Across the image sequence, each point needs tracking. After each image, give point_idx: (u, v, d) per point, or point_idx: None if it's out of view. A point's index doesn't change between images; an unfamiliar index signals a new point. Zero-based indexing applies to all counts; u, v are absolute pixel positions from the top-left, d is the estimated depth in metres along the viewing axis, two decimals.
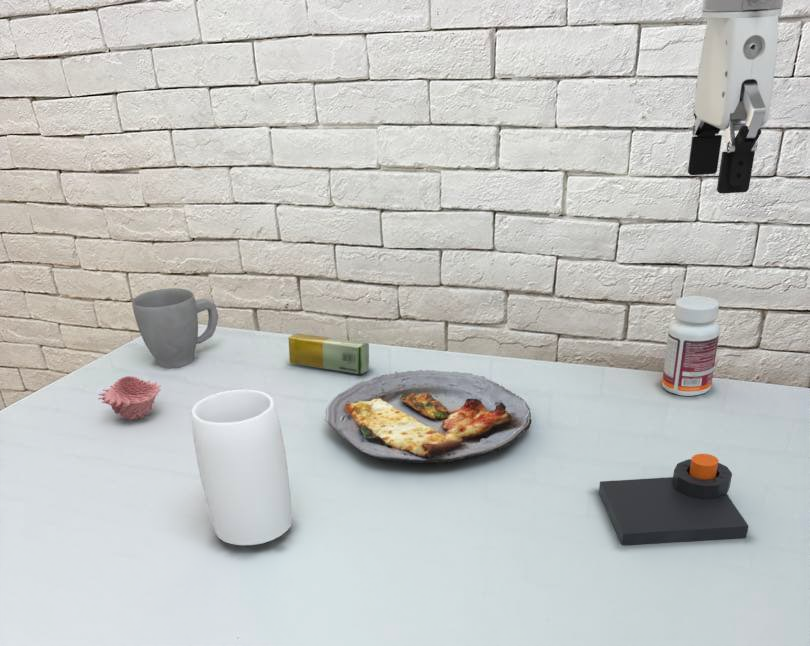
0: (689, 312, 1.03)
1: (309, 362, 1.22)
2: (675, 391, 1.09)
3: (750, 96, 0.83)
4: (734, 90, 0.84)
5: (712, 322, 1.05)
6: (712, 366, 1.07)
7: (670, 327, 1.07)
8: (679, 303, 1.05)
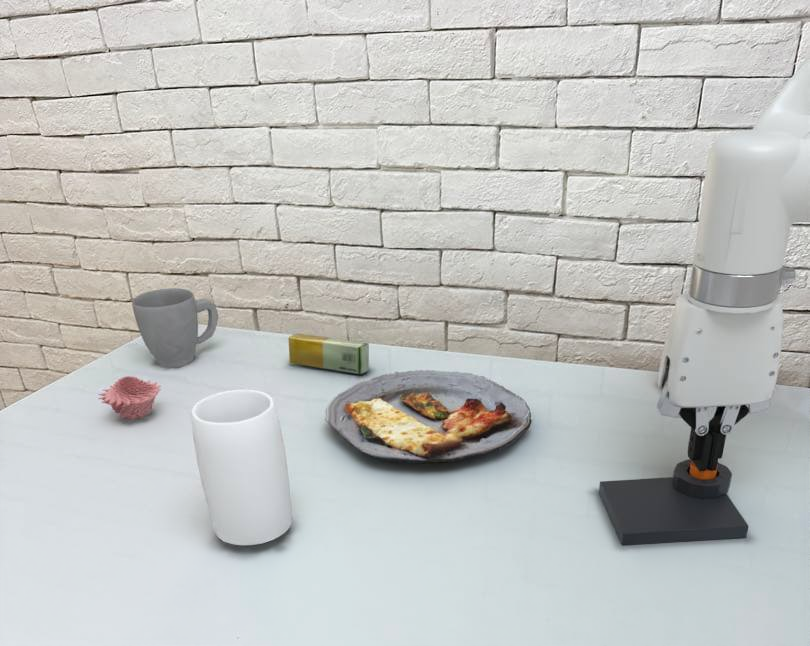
0: None
1: (309, 362, 1.22)
2: None
3: None
4: None
5: None
6: None
7: None
8: None
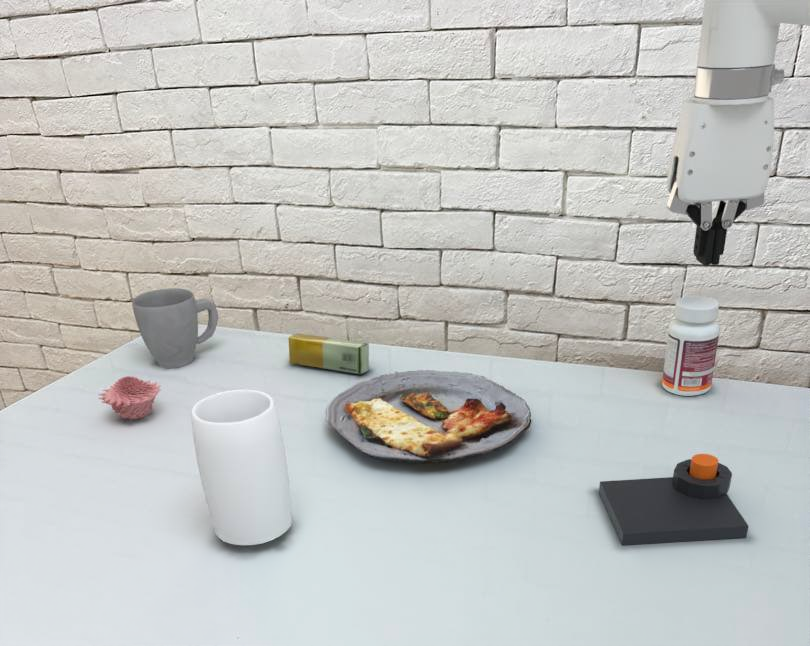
0: (689, 312, 1.03)
1: (309, 362, 1.22)
2: (675, 391, 1.09)
3: None
4: None
5: (712, 322, 1.05)
6: (712, 366, 1.07)
7: (670, 327, 1.07)
8: (679, 303, 1.05)
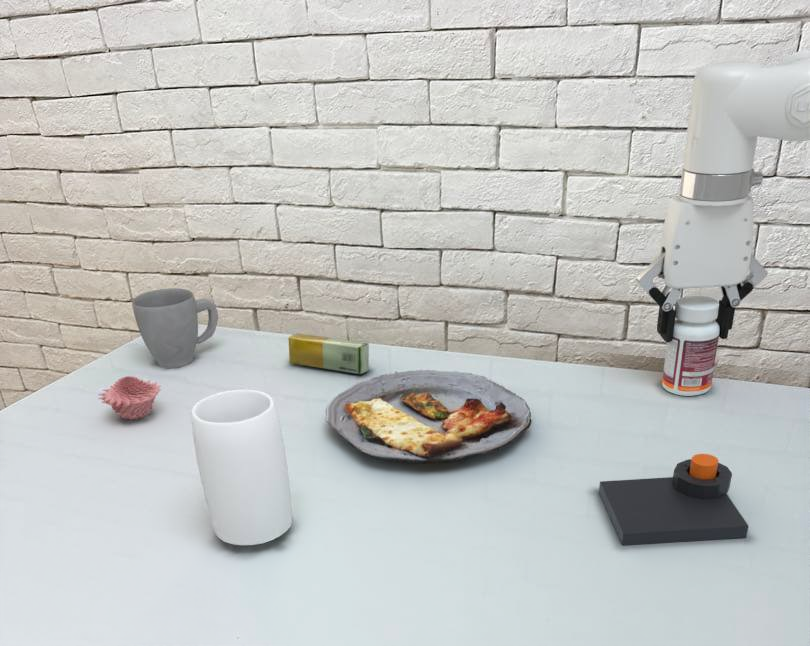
0: (689, 312, 1.03)
1: (309, 362, 1.22)
2: (675, 391, 1.09)
3: None
4: None
5: (712, 322, 1.05)
6: (712, 366, 1.07)
7: None
8: (679, 303, 1.05)
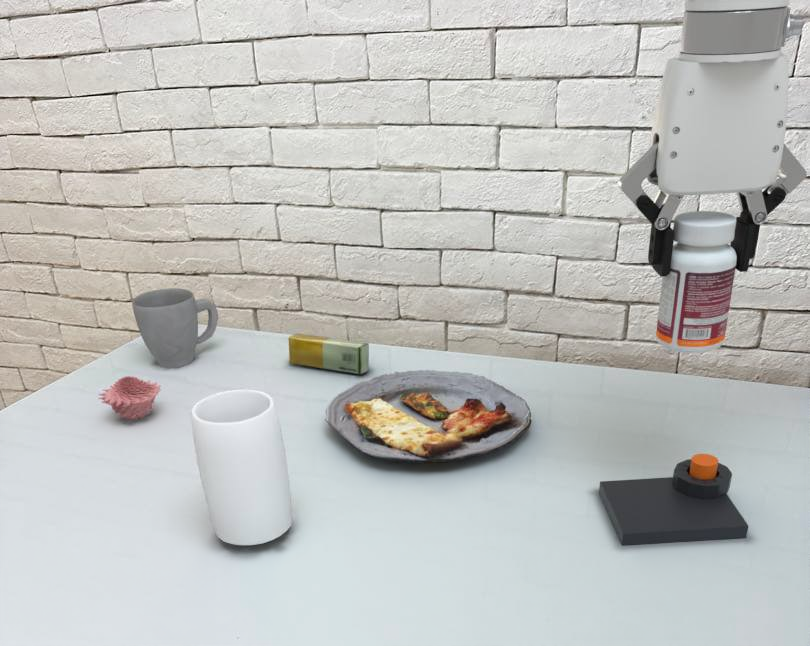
0: (693, 230, 0.72)
1: (309, 362, 1.22)
2: (674, 347, 0.78)
3: (793, 155, 0.71)
4: None
5: (726, 246, 0.74)
6: (726, 311, 0.76)
7: None
8: (680, 219, 0.74)
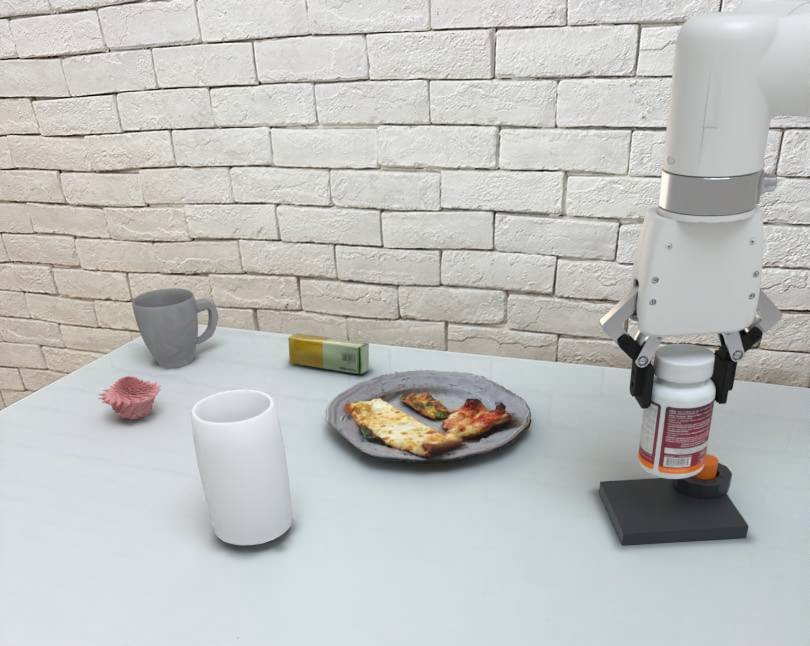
0: (673, 368, 0.74)
1: (309, 362, 1.22)
2: (656, 473, 0.80)
3: (769, 299, 0.73)
4: None
5: (705, 381, 0.76)
6: (705, 440, 0.78)
7: None
8: (660, 356, 0.76)
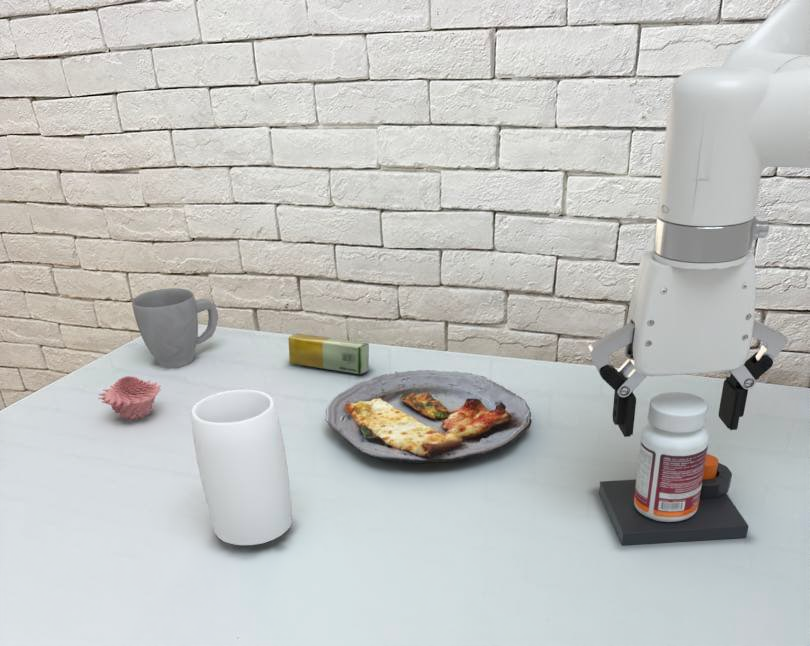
0: (667, 418, 0.77)
1: (309, 362, 1.22)
2: (651, 516, 0.82)
3: (769, 328, 0.74)
4: None
5: (699, 429, 0.79)
6: (699, 485, 0.81)
7: (643, 434, 0.80)
8: (654, 405, 0.78)
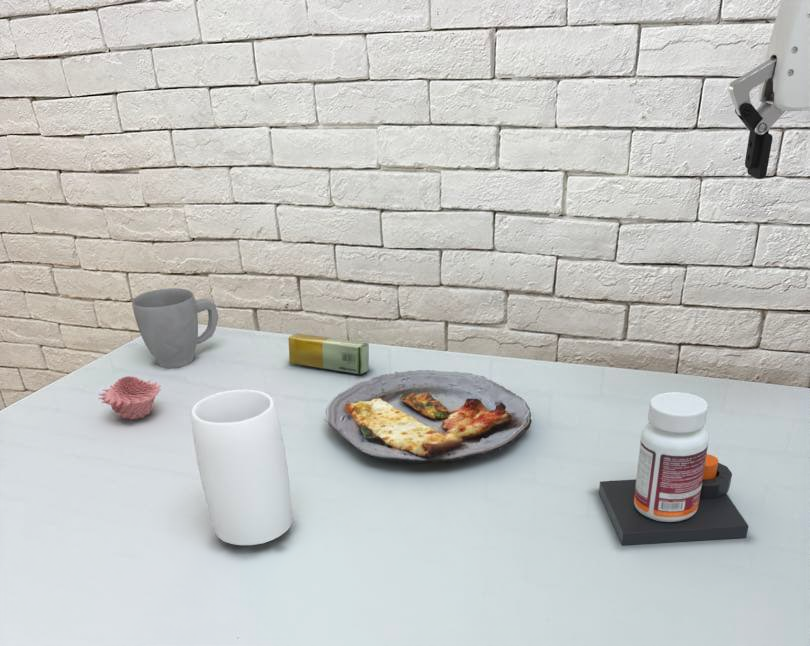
0: (667, 418, 0.77)
1: (309, 362, 1.22)
2: (651, 516, 0.82)
3: None
4: None
5: (699, 430, 0.79)
6: (699, 485, 0.81)
7: (643, 434, 0.80)
8: (655, 405, 0.78)
